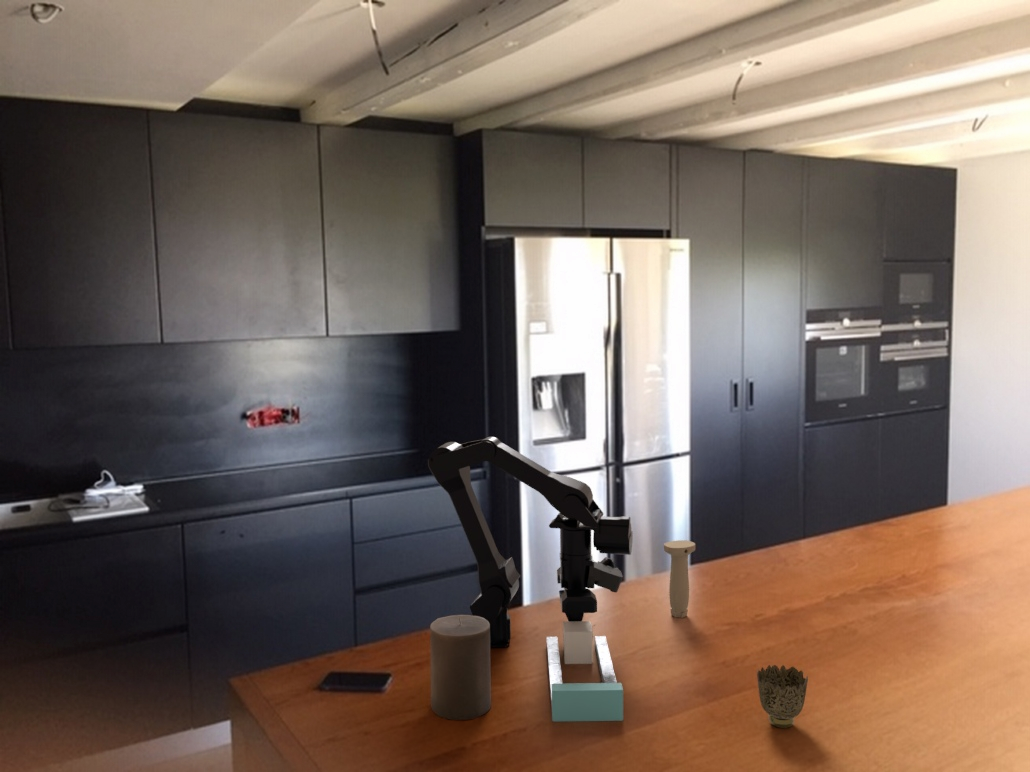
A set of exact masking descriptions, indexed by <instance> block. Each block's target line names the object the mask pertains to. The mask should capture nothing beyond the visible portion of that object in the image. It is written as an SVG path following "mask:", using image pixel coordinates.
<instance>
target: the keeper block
mask: <svg viewBox="0 0 1030 772" xmlns="http://www.w3.org/2000/svg"><path fill="white" fill-rule="evenodd" d="M562 623H563V624H562V625H563V626H562V629H563V630H562V631H563V633H562V635H563V636H562V637H563V638H562V640H563V643H562V644H563V646H562V648H563V653H562V654H563V659H564V665H592V664H593V661H594V660H593V658H594V657H593V654H594V652H593V649H594V648H593V644H594V642H593V637H594V636H593V635H594V634H593V627H592V623H591V621H590V620H586V621H585V620H582V621H568V620H567V621H566V620H565V621H562Z"/></svg>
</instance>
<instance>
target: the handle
mask: <svg viewBox="0 0 1030 772" xmlns="http://www.w3.org/2000/svg"><path fill="white" fill-rule="evenodd" d="M663 551H664V552H665V553H666V554H668V555H670V560H671V561H670V574H669V575H670V576H669V586H668V587H669V589H668V593H669V594H668V595H669V604H670V615H671V616H673V617H674V618H682V619H684V618H685V617H687V616H688V606H689V601H690V600H689V598H690V579H689V578H690V577H689V555H690V554H691V553H693V552H695V551H696V542H693V541H691V540H681V539H680V540H679V539H678V540H672V541H667V542H664V543H663Z"/></svg>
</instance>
